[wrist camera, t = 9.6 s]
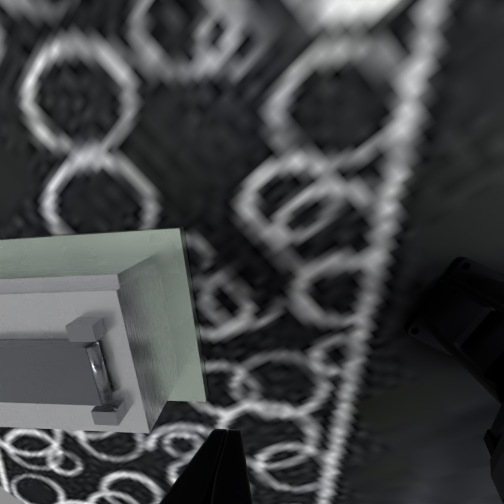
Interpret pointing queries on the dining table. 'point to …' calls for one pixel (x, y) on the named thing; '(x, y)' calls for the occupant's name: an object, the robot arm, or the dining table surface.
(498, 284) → the robot arm
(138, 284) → the board
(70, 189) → the dining table surface
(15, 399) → the dark grey flat bar
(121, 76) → the dining table surface
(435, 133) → the dining table surface
